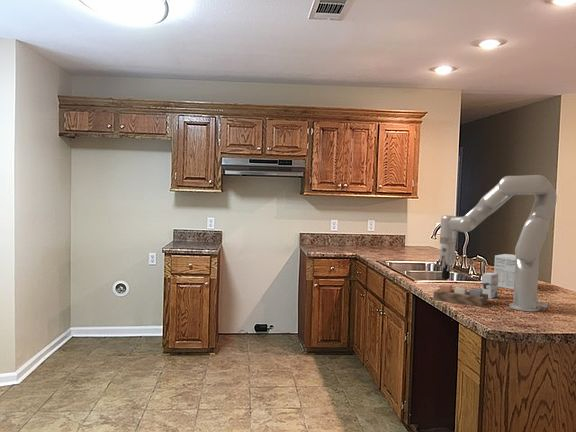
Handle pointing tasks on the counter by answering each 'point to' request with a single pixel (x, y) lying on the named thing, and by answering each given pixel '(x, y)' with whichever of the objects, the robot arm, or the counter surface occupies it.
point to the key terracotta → (446, 288)
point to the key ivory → (460, 290)
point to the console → (460, 298)
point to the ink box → (490, 284)
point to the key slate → (476, 292)
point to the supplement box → (505, 270)
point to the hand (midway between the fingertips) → (445, 278)
